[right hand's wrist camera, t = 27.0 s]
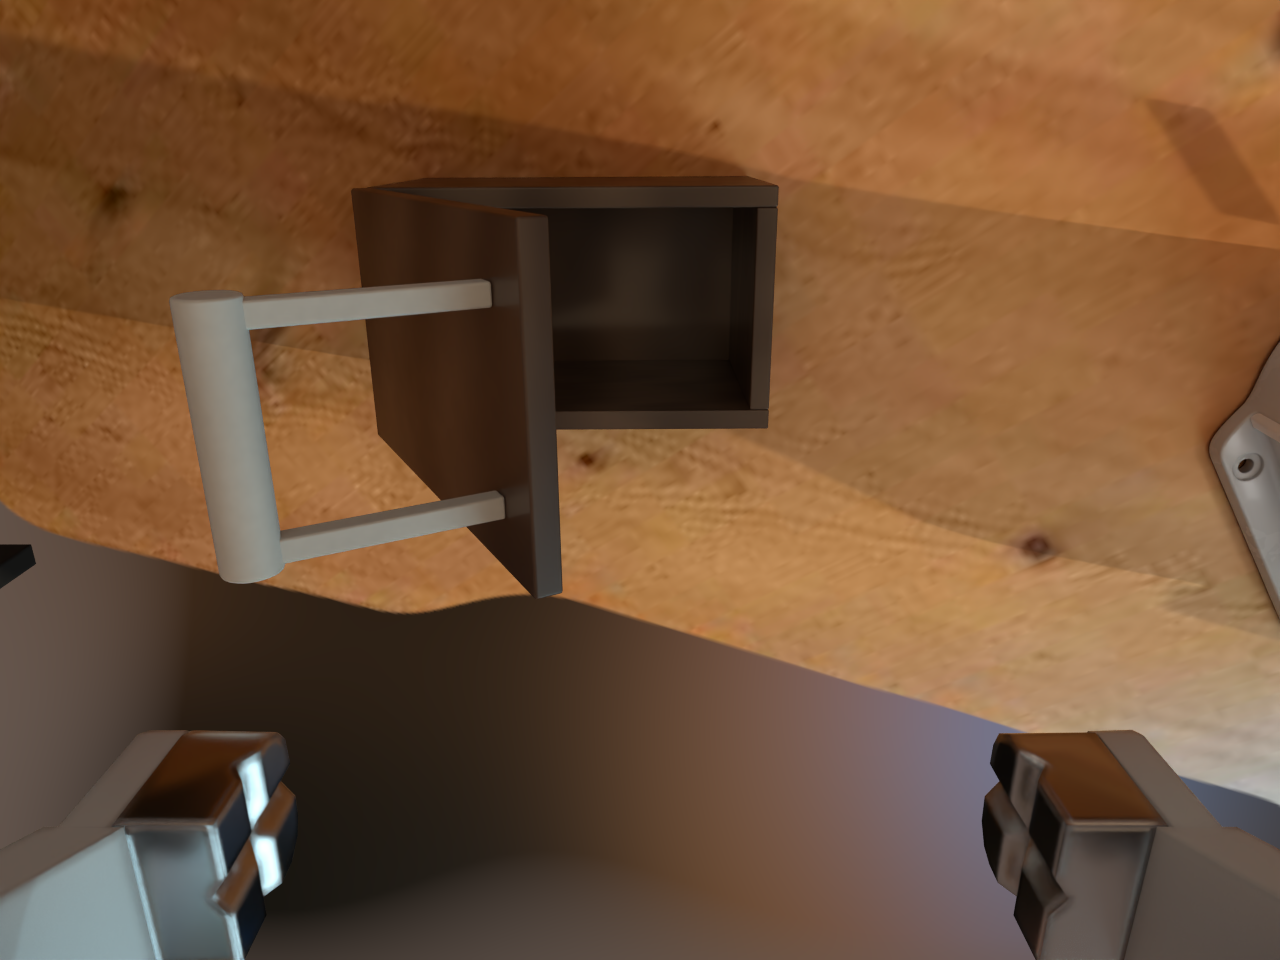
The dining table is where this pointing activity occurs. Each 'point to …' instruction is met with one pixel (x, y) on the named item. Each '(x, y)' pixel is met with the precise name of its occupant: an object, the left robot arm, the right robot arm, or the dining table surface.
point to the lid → (400, 388)
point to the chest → (650, 293)
